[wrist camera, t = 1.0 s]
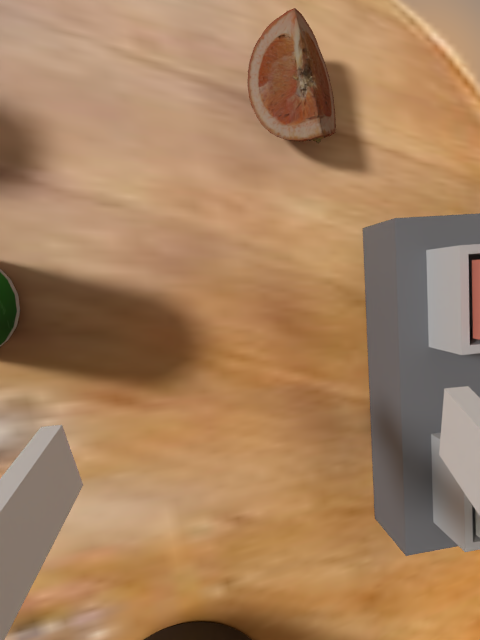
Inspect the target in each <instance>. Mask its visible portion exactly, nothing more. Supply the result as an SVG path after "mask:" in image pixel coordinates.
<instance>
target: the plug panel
mask: <svg viewBox="0 0 480 640" xmlns="http://www.w3.org/2000/svg"><path fill="white" fill-rule="evenodd" d="M363 245H364V269H365V293H366V317H367V341H368V365H369V389H370V413H371V437H372V461H373V485H374V509H375V519H376V520H377V521H378V523H379V524H380V525H381V526H382V527H383V529H384V530H385V531H386V532H387V533H388V535H389V536H390V537H391V538H392V539H393V541H394V542H395V543H396V544H397V546H398V547H399V548H400V549H401V550H402V552H403V553H404V554H405V555H406V556H408V555H413V554H418V553H424V552H429V551H434V550H440V549H445V548H450V547H456V546H459V547H460V548H461V549H462V550H463V551H465V552H468V551H473V550H479V549H480V538H479V537H478V536H477V535H476V519H475V508H474V507H473V505H472V504H471V502H470V501H469V499H468V498H467V496H466V495H465V493H464V492H463V490H462V489H461V487H460V486H459V484H458V483H457V481H456V480H455V478H454V477H453V475H452V473H451V472H450V470H449V469H448V467H447V466H446V464H445V463H444V461H443V460H442V458H441V457H440V455H439V450H440V437H441V425H442V412H443V399H444V388H454V387H465V386H468V387H469V388H470V389H471V390H472V391H473V392H474V393H475V394H476V395H477V396H478V397H479V398H480V340H479V339H473V308H472V260H479V259H480V214H465V215H447V216H429V217H410V218H394V219H391V220H388V221H385V222H381V223H378V224H375V225H372V226H369V227H365V228H363Z"/></svg>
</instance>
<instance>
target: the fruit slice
mask: <svg viewBox="0 0 480 640" xmlns="http://www.w3.org/2000/svg"><path fill="white" fill-rule="evenodd" d="M248 92H249V98H250V101H251V106H252V108H253V110H254V112H255V114H256V116H257V118H258V119H259V121H260V123H261V124H262V125H263V126H264V127H265V128H266V129H267V130H268V131H269V132H270V133H272V134H274V135H275V136H277V137H280V138H283V139H286V140H293V141H307V140H309V141H310V140H313V141H315V140H316V142H317V143H319V142H320V139H322V138H325V137H327V136H331V135H332V134H334V133H335V128H336V124H335V109H334V100H333V93H332V89H331V84H330V79H329V75H328V72H327V68H326V65H325V62H324V60H323V57H322V54H321V52H320V49H319V47H318V44H317V41H316V38H315V36H314V34H313V32H312V30H311V28H310V27H309V25H308V24H307V22H306V20H305V19H304V17H303V16H302V14H301V13H300V12H299V11H297V10H296V9H295V8H294V9H292V10H289V11H287V12H286V13H284V14H283V15H282V16H280V17H279V18H277V19H276V20H274V21H273V22H272V23H271V24H270V25H269V26H268V27H267V28H266V29H265V31H264V32H263V34H262V36H261V37H260V38H259V40H258V41H257V43H256V45H255V47H254V50H253V53H252V56H251V59H250V63H249V70H248Z"/></svg>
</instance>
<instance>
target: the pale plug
mask: <svg viewBox="0 0 480 640" xmlns="http://www.w3.org/2000/svg"><path fill="white" fill-rule="evenodd" d="M475 519H476V535H477V536H478V537H479V538H480V516H479V514H478V513H477V511H476V510H475Z"/></svg>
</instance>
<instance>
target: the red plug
mask: <svg viewBox="0 0 480 640" xmlns="http://www.w3.org/2000/svg"><path fill="white" fill-rule="evenodd" d="M472 308H473V339H479V340H480V259H479V260H472Z"/></svg>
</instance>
